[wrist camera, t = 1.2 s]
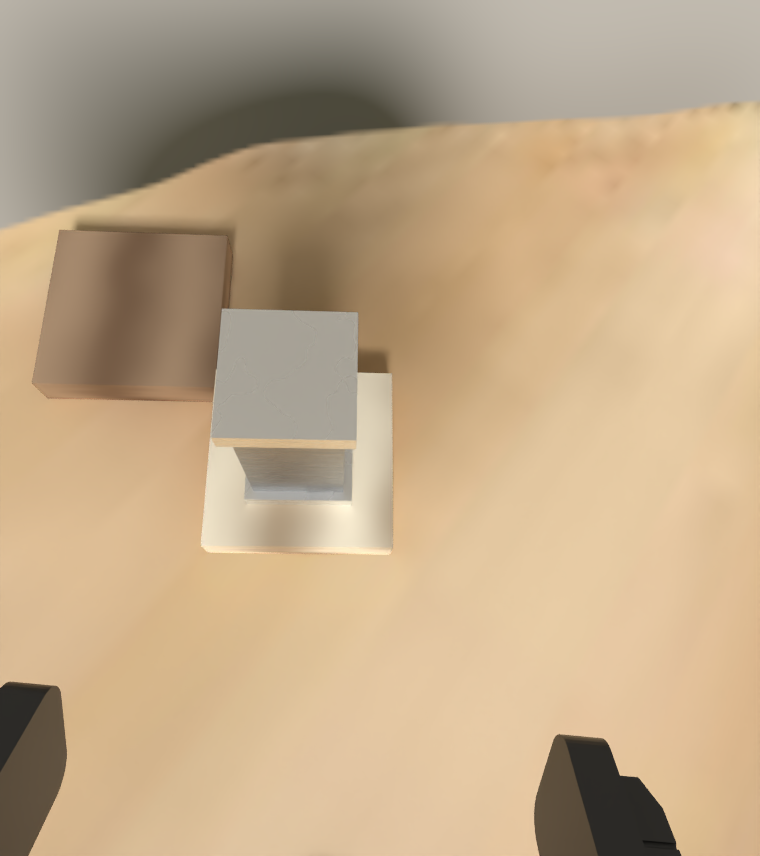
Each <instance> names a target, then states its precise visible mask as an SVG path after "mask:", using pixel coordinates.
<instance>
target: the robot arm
mask: <svg viewBox="0 0 760 856" xmlns="http://www.w3.org/2000/svg"><path fill="white" fill-rule="evenodd" d="M66 759H67V749H66V739H65V729H64V719H63V709H62V700H61V692H60V689H59V688H58V687H57V686H50V685H40V684H29V683H18V682H7V683H6V684H4V685H3V686H2V687H1V688H0V856H28V855H29V853H30V851H31V849H32V847H33V845H34V843H35V840H36V838H37V836H38V834H39V832H40V830H41V828H42V826H43V824H44V822H45V820H46V817H47V815H48V813H49V811H50V809H51V807H52V805H53V803H54V801H55V799H56V796H57V794H58V792H59V789H60V786H61V783H62V780H63V776H64V772H65V767H66ZM534 823H535V834H536V840H537V845H538V850H539V855H540V856H681V854H680V851H679V850H677V849H676V841H675V839H674V836H673V833H672V831H671V828H670V826H669V823H668V821H667V818H666V816H665V813H664V811H663V808H662V807H661V806H660V804H659V803H658V802H657V801H656V799H655V798H654V797H653V796H652V794H651V793H650V792H649V791H648V789H647V788H646V787H645V785H644V784H643V783H642V782H641V780H640V779H639V778H638V777H627V776H620V775H619V772H618V769H617V766H616V763H615V761H614V758H613V755H612V752H611V749H610V747H609V745H608V743H607V742H606V741H605V740H604V739H602V738H593V737H582V736H571V735H560V734H559V735H557V736H556V737H555V738H554V741H553V744H552V747H551V750H550V753H549V756H548V760H547V763H546V766H545V769H544V773H543V776H542V779H541V782H540V786H539V789H538V792H537V796H536V801H535V811H534Z"/></svg>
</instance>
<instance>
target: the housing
mask: <svg viewBox="0 0 760 856" xmlns="http://www.w3.org/2000/svg"><path fill="white" fill-rule="evenodd" d="M357 374H358V312H327V311H292V310H257V309H222V313H221V325H220V336H219V348H218V360H217V371H216V383H215V395H214V406H213V418H212V430H211V439H212V441H213V443H214V445H215V446H216V447H233V449H234V451H235V453H236V455H237V457H238V459H239V461H240V464H241V466H242V468H243V470H244V472H245V474H246V478H245V493H244V500H245V502H246V504H262V505H337V506H351V504H352V450H353V449H356V443H357Z"/></svg>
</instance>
